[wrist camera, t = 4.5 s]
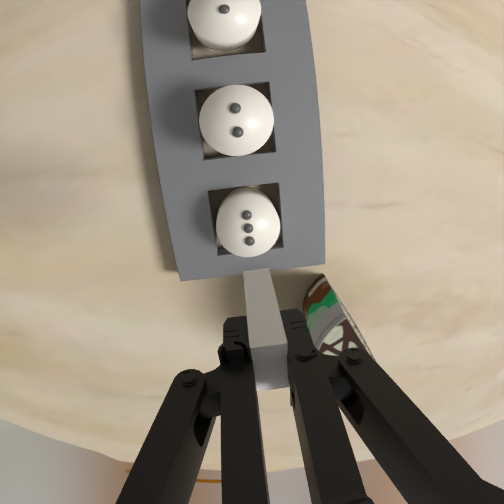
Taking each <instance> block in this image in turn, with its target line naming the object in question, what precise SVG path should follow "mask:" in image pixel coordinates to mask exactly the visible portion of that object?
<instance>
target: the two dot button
mask: <svg viewBox="0 0 504 504" xmlns="http://www.w3.org/2000/svg"><path fill="white" fill-rule="evenodd" d="M199 125H200V130H201V133H202V135H203V137H204V139H205V140H206V142H207V143H208V144H209V145H210V146H211V147H212V148H213V149H215V150H216V151H218V152H220V153H222V154H225V155H229V156H243V155H247V154H250V153H252V152H255V151H256V150H258V149H259V148H260V147H262V146H263V145H264V144H265V143H266V141H267V140H268V138H269V137H270V135H271V132H272V129H273V125H274V115H273V111H272V108H271V105H270V103H269V102H268V100H267V99H266V98H265V97H264V95H262V94H261V93H260V92H259V91H257V90H256V89H254V88H251V87H249V86H245V85H229V86H225V87H222V88H220V89H218V90H217V91H215V92H214V93H212V94H211V95H210V96H209V97H208V98H207V100H206V101H205V102H204V104H203V106H202V109H201V111H200V116H199Z"/></svg>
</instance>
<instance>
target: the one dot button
mask: <svg viewBox="0 0 504 504" xmlns="http://www.w3.org/2000/svg"><path fill="white" fill-rule="evenodd" d="M260 15H261V4H260V1H259V0H191V1H190V3H189V6H188V19H189V22H190V24H191V27H192V29H193V31H194V34H195V36H196V37H197V39H198V40H199V41H200V42H201V43H202V44H203V45H205V46H207V47H209V48H211V49H215V50H221V51H226V50H233V49H236V48H239V47H241V46H243V45H245V44H246V43H247V42H248V41H250V39H251V38H252V37H253V35H254V34H255V32H256V29H257V25H258V22H259V19H260Z"/></svg>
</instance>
